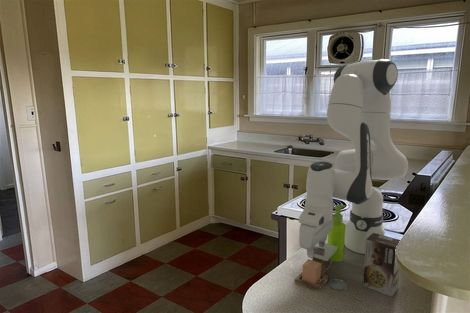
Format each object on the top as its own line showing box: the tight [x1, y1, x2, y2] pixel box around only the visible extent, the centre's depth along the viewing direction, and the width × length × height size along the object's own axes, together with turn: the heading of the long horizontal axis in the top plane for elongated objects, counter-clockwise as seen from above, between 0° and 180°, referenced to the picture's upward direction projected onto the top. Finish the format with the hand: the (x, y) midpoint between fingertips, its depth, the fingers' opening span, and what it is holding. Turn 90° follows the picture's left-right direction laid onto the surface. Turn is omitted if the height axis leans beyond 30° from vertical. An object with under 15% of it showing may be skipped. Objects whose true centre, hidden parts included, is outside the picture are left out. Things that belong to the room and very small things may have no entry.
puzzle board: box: [294, 257, 332, 291], centre depth 112 cm, size 18×8×6 cm, turn 144°
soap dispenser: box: [327, 203, 347, 262], centre depth 123 cm, size 6×7×20 cm
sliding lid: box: [306, 242, 338, 261], centre depth 115 cm, size 10×7×3 cm
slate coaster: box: [327, 278, 347, 291], centre depth 107 cm, size 6×6×1 cm
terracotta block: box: [301, 259, 321, 285], centre depth 108 cm, size 4×4×6 cm
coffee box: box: [362, 233, 401, 297], centre depth 104 cm, size 9×6×16 cm
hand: (316, 251), depth 111 cm, fingers open, 8 cm apart
